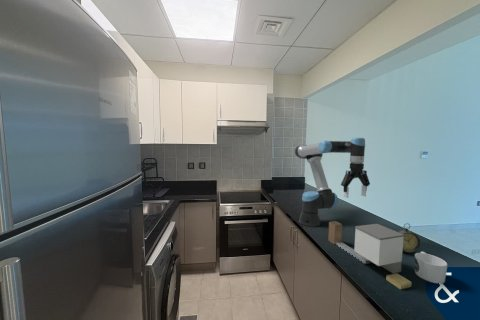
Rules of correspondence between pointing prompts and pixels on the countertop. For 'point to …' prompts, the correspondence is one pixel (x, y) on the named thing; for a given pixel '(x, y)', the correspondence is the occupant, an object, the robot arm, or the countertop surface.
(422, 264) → the mug
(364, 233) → the toe kick cabinet
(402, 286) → the yellow sponge
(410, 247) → the alarm clock
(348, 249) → the brown block grey strip
